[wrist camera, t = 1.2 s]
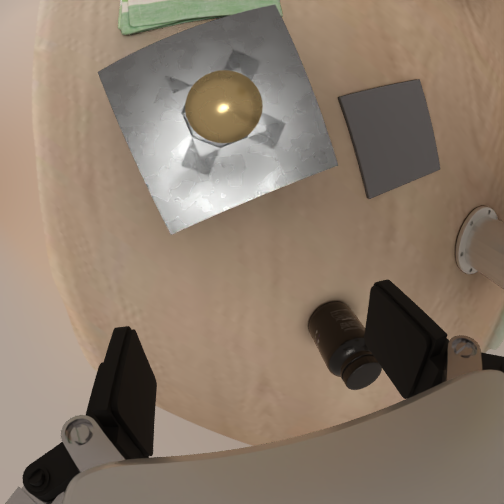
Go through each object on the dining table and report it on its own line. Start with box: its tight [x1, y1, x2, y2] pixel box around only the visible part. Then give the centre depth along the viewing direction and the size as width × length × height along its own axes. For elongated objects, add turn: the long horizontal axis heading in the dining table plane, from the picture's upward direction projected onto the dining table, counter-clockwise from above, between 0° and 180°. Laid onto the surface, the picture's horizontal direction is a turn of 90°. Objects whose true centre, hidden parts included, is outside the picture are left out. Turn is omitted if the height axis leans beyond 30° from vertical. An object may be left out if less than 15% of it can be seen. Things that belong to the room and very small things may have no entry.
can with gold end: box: [185, 70, 263, 143], centre depth 24 cm, size 6×6×8 cm
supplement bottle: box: [309, 302, 382, 390], centre depth 36 cm, size 7×7×12 cm
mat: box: [338, 79, 440, 199], centre depth 32 cm, size 13×13×1 cm
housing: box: [98, 5, 338, 235], centre depth 27 cm, size 18×18×4 cm
